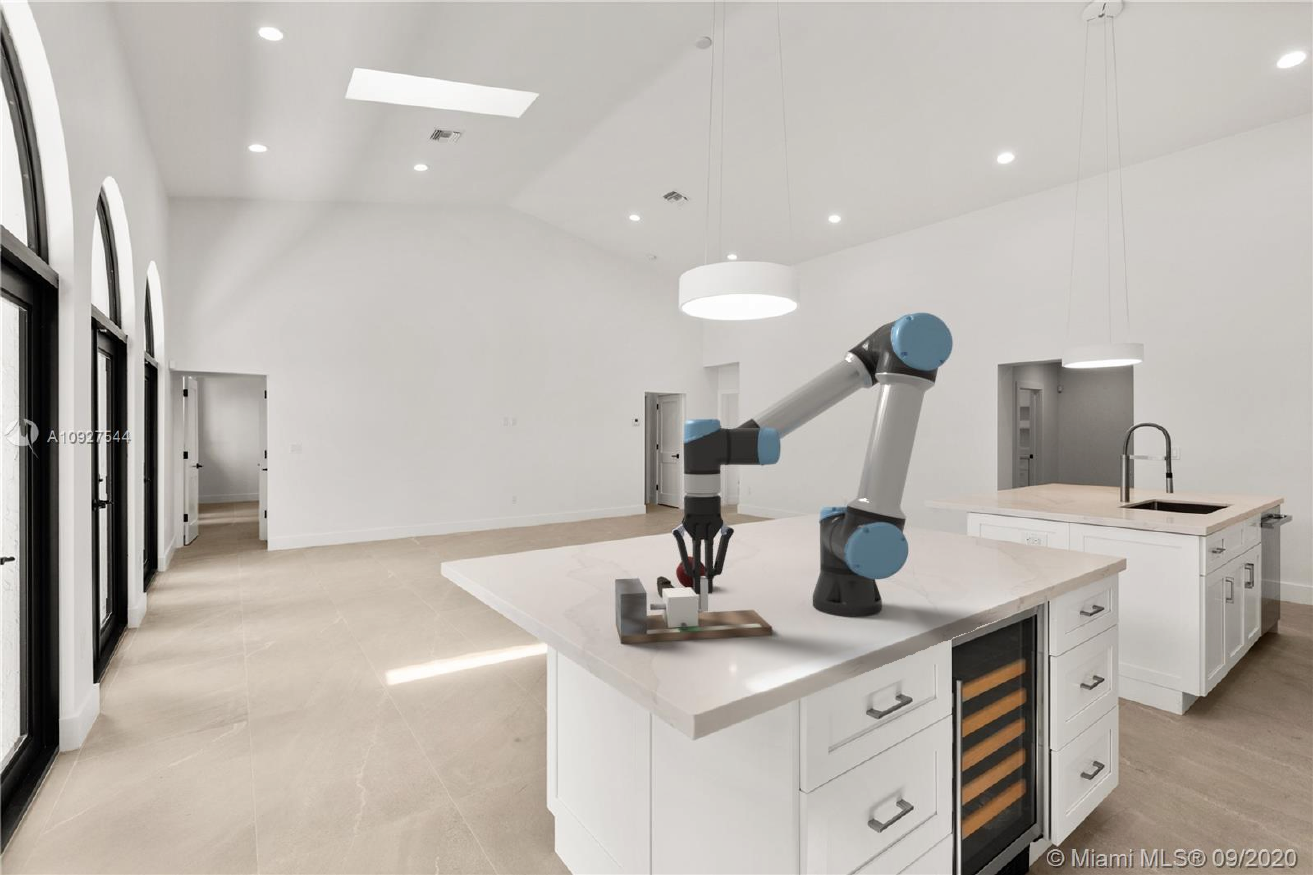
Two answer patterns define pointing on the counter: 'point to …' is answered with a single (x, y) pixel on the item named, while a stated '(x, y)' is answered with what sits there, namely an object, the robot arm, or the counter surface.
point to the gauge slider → (678, 607)
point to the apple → (683, 578)
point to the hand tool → (663, 584)
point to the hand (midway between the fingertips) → (703, 609)
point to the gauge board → (653, 627)
